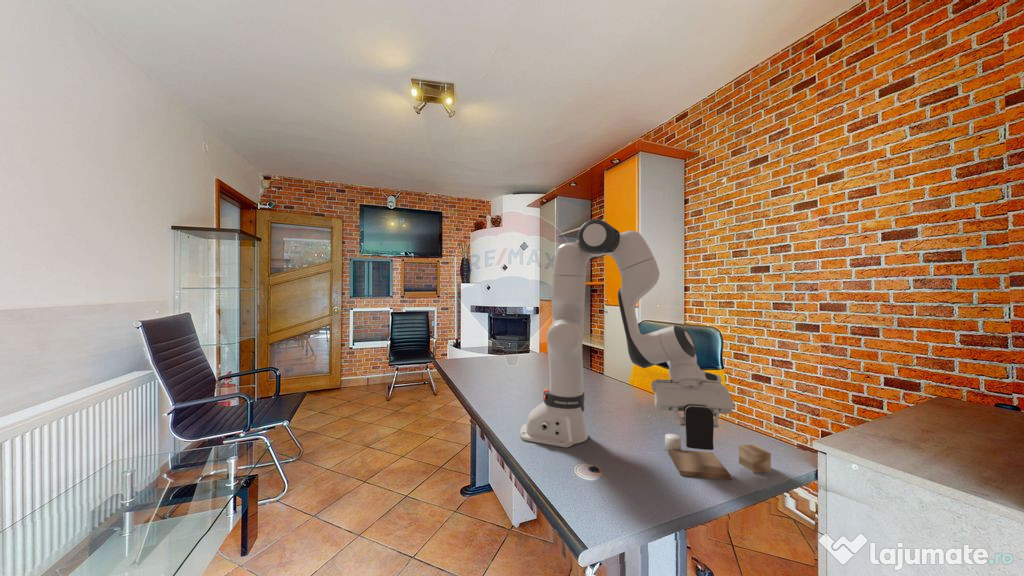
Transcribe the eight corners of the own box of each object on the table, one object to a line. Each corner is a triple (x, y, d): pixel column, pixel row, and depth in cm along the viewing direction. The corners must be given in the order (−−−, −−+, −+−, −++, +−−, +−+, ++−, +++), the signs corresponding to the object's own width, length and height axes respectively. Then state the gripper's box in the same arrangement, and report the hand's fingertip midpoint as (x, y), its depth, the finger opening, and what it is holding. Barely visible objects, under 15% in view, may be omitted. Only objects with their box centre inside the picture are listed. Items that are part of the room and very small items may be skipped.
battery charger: (710, 445, 94) (709, 403, 94) (714, 451, 90) (714, 408, 90) (682, 442, 96) (682, 401, 96) (686, 448, 92) (685, 406, 92)
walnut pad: (680, 475, 88) (680, 470, 88) (668, 453, 100) (668, 448, 100) (730, 479, 86) (730, 475, 86) (712, 456, 98) (712, 452, 98)
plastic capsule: (667, 452, 100) (667, 439, 100) (663, 446, 105) (663, 433, 105) (683, 454, 100) (683, 440, 100) (678, 447, 104) (678, 434, 104)
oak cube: (753, 472, 89) (753, 454, 89) (738, 463, 94) (738, 445, 94) (770, 472, 90) (770, 453, 90) (755, 462, 95) (755, 444, 95)
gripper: (651, 373, 102) (659, 418, 92) (726, 376, 98) (743, 423, 88) (648, 384, 106) (656, 428, 97) (720, 387, 102) (735, 433, 93)
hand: (698, 425), depth 92 cm, fingers closed on battery charger, 7 cm apart
